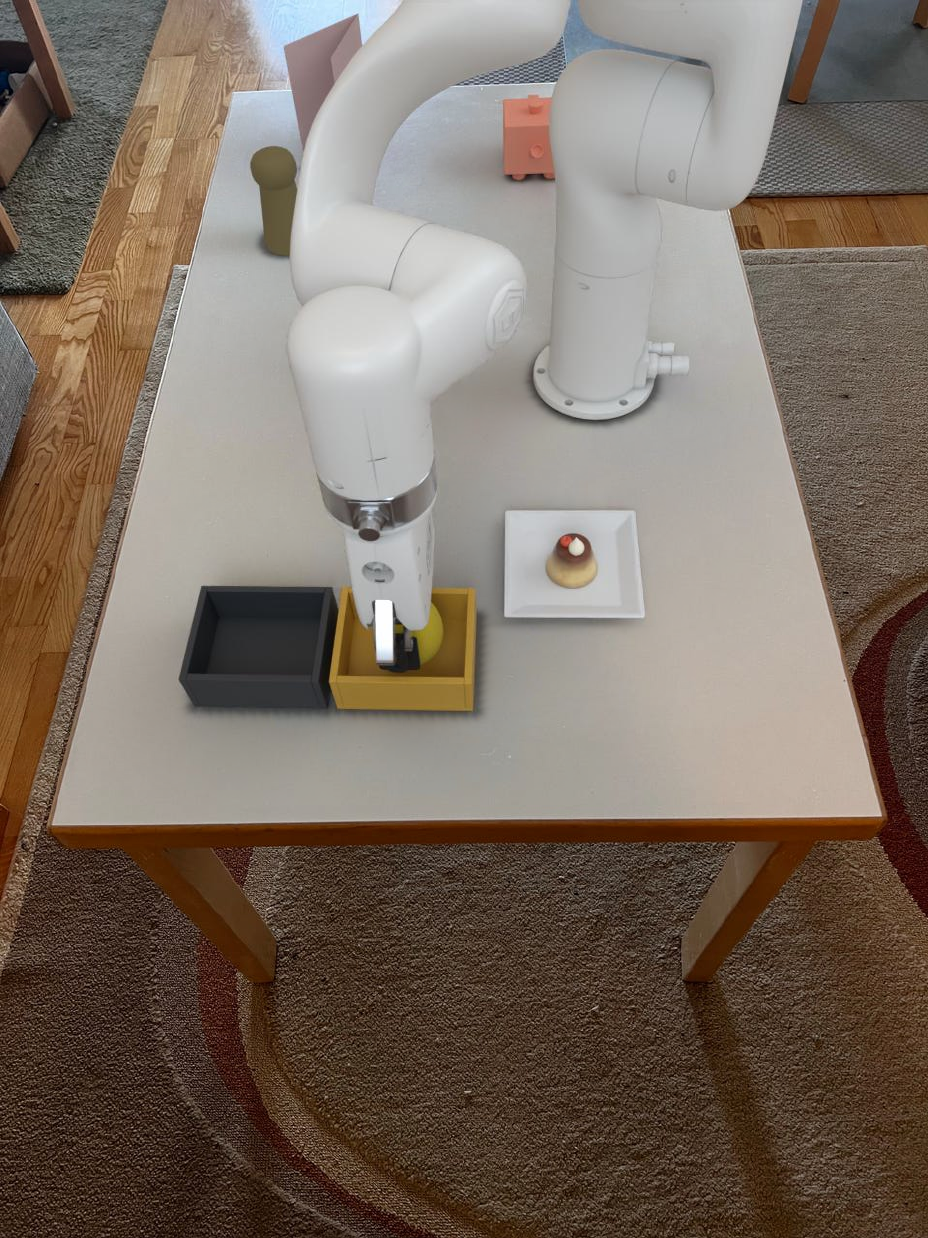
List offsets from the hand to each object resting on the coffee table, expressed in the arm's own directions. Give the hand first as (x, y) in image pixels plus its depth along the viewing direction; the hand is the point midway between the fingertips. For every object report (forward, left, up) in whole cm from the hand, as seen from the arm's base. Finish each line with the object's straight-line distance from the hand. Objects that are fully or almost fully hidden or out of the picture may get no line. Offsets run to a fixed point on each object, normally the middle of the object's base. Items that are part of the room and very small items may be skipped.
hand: (403, 629), depth 73 cm
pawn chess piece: (+19, -60, -5) cm, 63 cm away
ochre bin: (0, 0, -5) cm, 5 cm away
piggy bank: (-11, -75, -5) cm, 76 cm away
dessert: (-14, -10, -5) cm, 18 cm away
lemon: (-1, 0, -5) cm, 5 cm away
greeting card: (+13, -78, -5) cm, 79 cm away
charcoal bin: (+12, 0, -5) cm, 13 cm away
